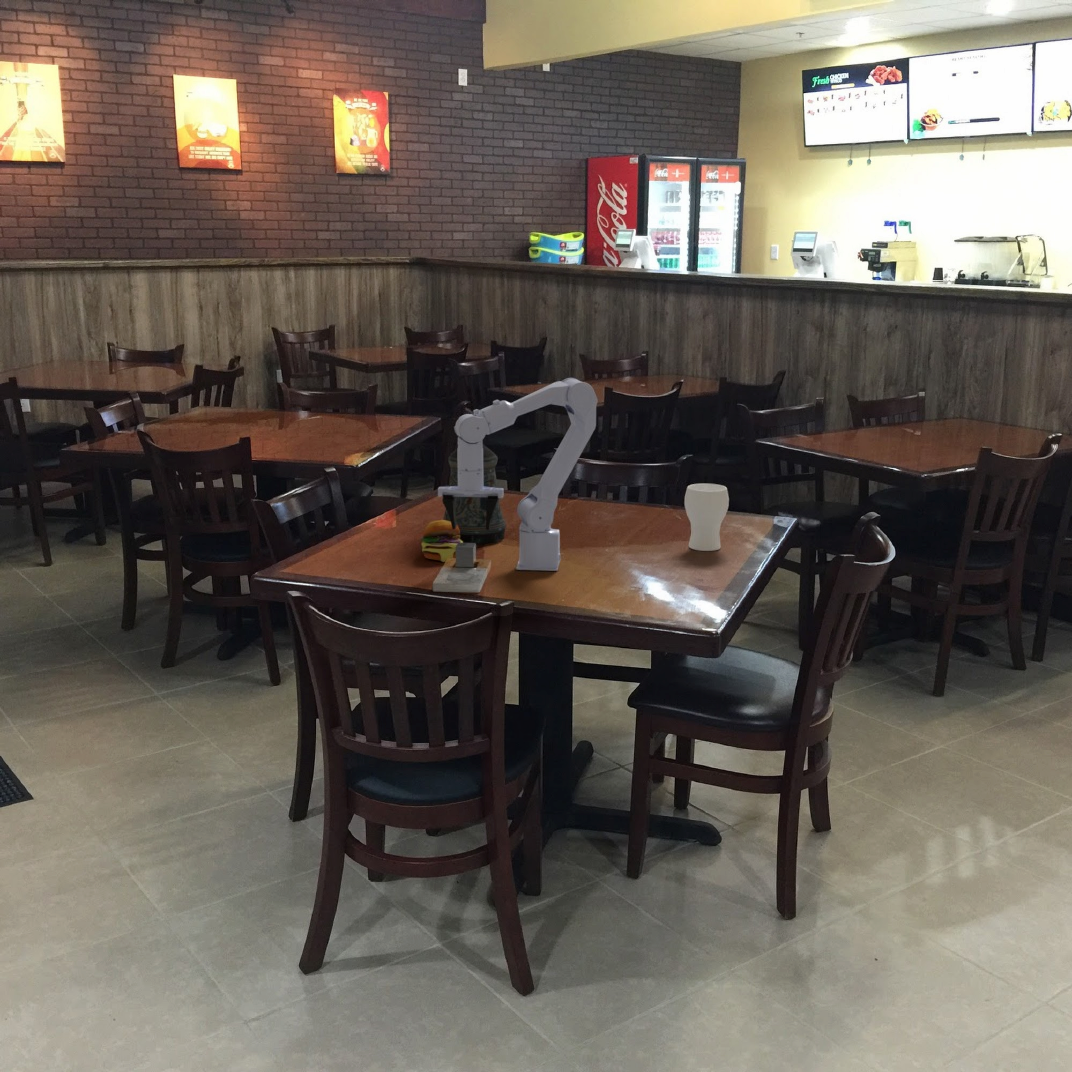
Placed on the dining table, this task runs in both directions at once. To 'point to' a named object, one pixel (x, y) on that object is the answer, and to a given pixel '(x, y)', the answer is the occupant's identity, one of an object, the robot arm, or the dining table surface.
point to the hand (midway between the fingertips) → (471, 528)
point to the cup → (706, 514)
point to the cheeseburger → (440, 540)
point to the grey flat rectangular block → (461, 577)
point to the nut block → (465, 555)
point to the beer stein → (477, 505)
